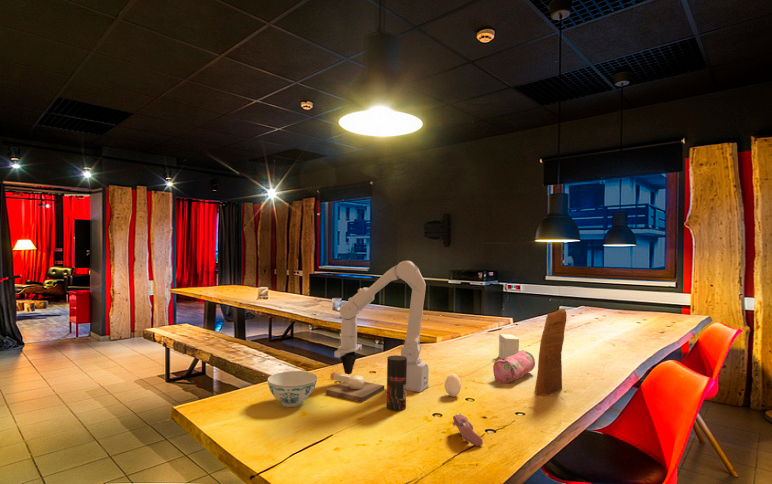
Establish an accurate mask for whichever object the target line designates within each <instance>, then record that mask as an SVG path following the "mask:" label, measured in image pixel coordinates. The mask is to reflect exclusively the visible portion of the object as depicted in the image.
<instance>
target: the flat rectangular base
mask: <svg viewBox="0 0 772 484" xmlns="http://www.w3.org/2000/svg"><path fill="white" fill-rule="evenodd" d="M348 386H349V383H346V382H340V383H338V384H336V385H334V386H332V387H329V388H327V389H326V393H325V395H327V396H332V397H336V398H340V399H341V398H342V399H345V400H351V401H355V402H360V403H363V402H365V401H367V400H369V399H370V398H373V397H374V396H377V395H378V394H379V393H382V392H384V391H385V385H383V384H379V383H372V382H368V381H364V382H363V388H361V389H351V388H349V387H348Z"/></svg>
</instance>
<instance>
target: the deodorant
mask: <svg viewBox="0 0 772 484" xmlns="http://www.w3.org/2000/svg"><path fill="white" fill-rule="evenodd" d="M386 362H387V363H386V365H387V366H386V368H387V369H386V409H388V411H393V412H399V411H405V410H406V409H407V390H406V377H407V358H406V357H404V356H401V355H389V356H387V361H386Z"/></svg>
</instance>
